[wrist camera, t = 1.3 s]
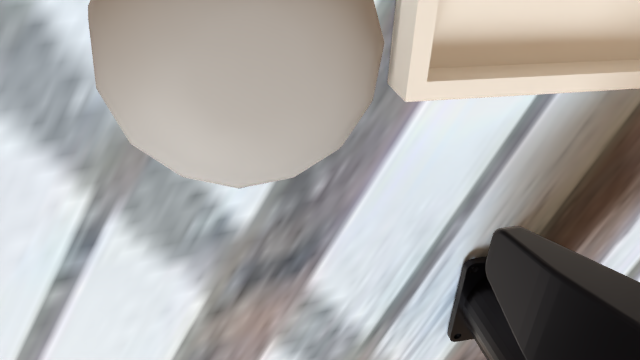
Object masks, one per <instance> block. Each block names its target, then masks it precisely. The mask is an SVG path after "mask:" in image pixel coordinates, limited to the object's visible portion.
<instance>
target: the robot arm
mask: <svg viewBox="0 0 640 360" xmlns="http://www.w3.org/2000/svg"><path fill="white" fill-rule="evenodd" d="M447 333H448V336H449V338H450V340H451V341H453V342H457V341H463V340H469V339H475V341H476V342H477V344H478V346H479V347H480V349H481V351H482V352H483V354H484V355H485V357H486V359H487V360H640V282H638V281H636V280H633V279H631V278H629V277H627V276H625V275H623V274H621V273H619V272H616V271H614V270H612V269H610V268H608V267H606V266H604V265H601V264H599V263H597V262H595V261H593V260H591V259H589V258H586V257H584V256H582V255H580V254H578V253H576V252H574V251H572V250H569V249H567V248H565V247H563V246H561V245H559V244H557V243H554V242H552V241H550V240H548V239H546V238H544V237H542V236H539V235H537V234H535V233H533V232H531V231H529V230H527V229H525V228H522V227H519V226H512V227H505V228H499V229H497V230H496V231H495V232H494V233H493V236H492V240H491V244H490V248H489V252H488V256H487V257H483V258H475V259H470V260H468V261H467V262H466V263H465V264H464V266H463V269H462V274H461V278H460V282H459V286H458V290H457V295H456V299H455V303H454V307H453V311H452V316H451V320H450V324H449V328H448V332H447Z"/></svg>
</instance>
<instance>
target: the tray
mask: <svg viewBox="0 0 640 360" xmlns="http://www.w3.org/2000/svg"><path fill="white" fill-rule="evenodd" d="M387 83H388V84H389V85H390V87H391V88H392V89H393V90H394V91H395V92H396V93H397V94H398V95H399V96H400V97H401V98H402V99H403V100H404V101H405V102H413V101H430V100H448V99H465V98H483V97H501V96H518V95H536V94H553V93H571V92H588V91H606V90H623V89H640V0H396V5H395V14H394V24H393V33H392V43H391V53H390V62H389V72H388V81H387Z"/></svg>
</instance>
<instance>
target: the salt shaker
mask: <svg viewBox="0 0 640 360" xmlns="http://www.w3.org/2000/svg"><path fill="white" fill-rule="evenodd" d="M88 20H89V29H90V38H91V46H92V55H93V64H94V72H95V81H96V88H97V90H98V92H99V93H100V95H101V97H102V98H103V100H104V101H105V103H106V105H107V106H108V108H109V110H110V111H111V113H112V114H113V116H114V118H115V119H116V121H117V122H118V124H119V126H120V127H121V129H122V131H123V132H124V134H125V135H126V137H127V139H128V140H129V142H130V144H132V145H134V146H135V147H137V148H138V149H140V150H141V151H143V152H144V153H146V154H147V155H149V156H151V157H152V158H154V159H155V160H157V161H158V162H160V163H161V164H163V165H165V166H166V167H168V168H169V169H171V170H172V171H174V172H175V173H177V174H178V175H180V176H182V177H185V178H190V179H195V180H200V181H205V182H210V183H215V184H220V185H225V186H230V187H234V188H244V187H248V186H253V185H258V184H263V183H268V182H273V181H278V180H283V179H288V178H293V177H295V176H297V175H298V174H300V173H302V172H303V171H305V170H306V169H308V168H309V167H311V166H313V165H314V164H316V163H317V162H319V161H321V160H322V159H324V158H325V157H327V156H329V155H330V154H332V153H333V152H335V151H336V150H338V149H340V148H341V147H342V145H343V144H344V142H345V141H346V139H347V138H348V136H349V135H350V133H351V132H352V131H353V129H354V128H355V126H356V125H357V123H358V122H359V120H360V119H361V117H362V116H363V114H364V113H365V111H366V110H367V108H368V107H369V105H370V104H371V102H372V101H373V96H374V91H375V86H376V81H377V76H378V72H379V67H380V62H381V57H382V52H383V47H384V39H383V35H382V31H381V28H380V24H379V20H378V16H377V12H376V8H375V4H374V1H373V0H91V1H90V3H89V5H88Z"/></svg>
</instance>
